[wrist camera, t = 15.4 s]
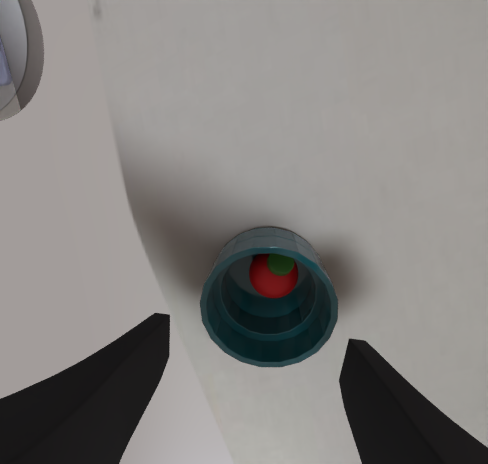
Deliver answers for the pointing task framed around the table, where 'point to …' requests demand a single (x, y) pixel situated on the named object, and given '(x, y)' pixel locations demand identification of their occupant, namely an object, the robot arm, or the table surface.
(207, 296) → the bowl
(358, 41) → the table surface
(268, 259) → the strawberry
